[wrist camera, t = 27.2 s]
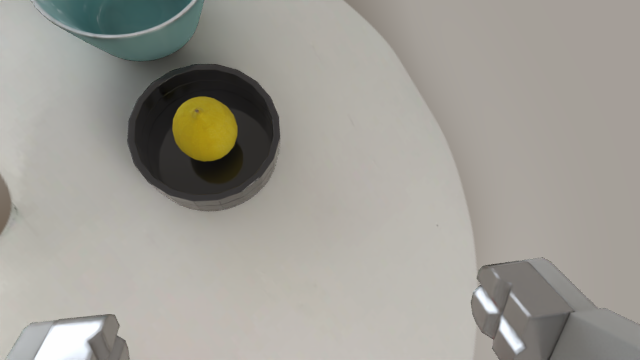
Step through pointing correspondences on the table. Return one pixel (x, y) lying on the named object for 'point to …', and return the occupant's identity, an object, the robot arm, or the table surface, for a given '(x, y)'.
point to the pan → (194, 175)
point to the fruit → (204, 129)
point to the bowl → (127, 24)
